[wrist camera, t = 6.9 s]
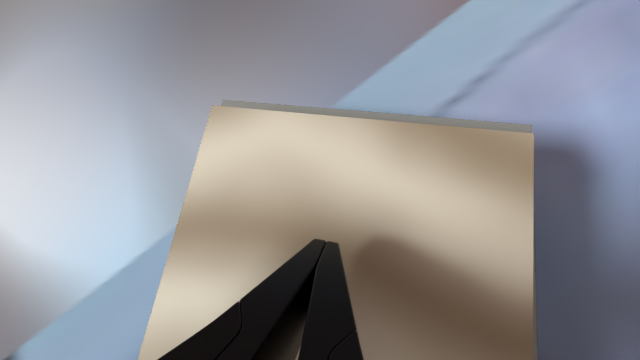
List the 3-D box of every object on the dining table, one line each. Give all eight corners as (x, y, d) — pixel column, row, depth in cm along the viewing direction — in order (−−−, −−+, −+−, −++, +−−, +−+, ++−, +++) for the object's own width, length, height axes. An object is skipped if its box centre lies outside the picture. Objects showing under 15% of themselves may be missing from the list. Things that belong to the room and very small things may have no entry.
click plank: (509, 517, 9) (531, 559, 7) (148, 390, 11) (123, 406, 10) (517, 144, 11) (534, 133, 10) (224, 116, 14) (212, 105, 13)
